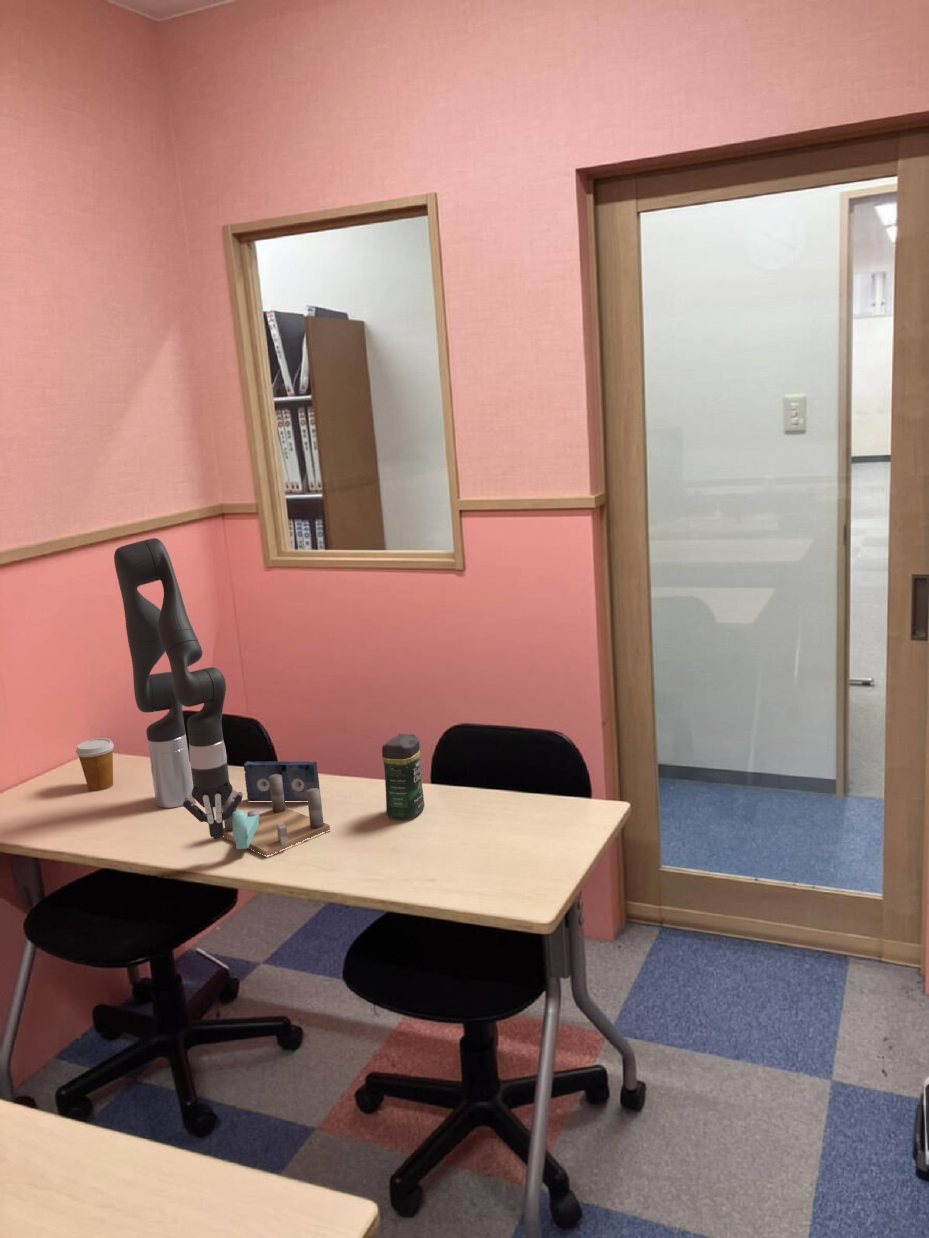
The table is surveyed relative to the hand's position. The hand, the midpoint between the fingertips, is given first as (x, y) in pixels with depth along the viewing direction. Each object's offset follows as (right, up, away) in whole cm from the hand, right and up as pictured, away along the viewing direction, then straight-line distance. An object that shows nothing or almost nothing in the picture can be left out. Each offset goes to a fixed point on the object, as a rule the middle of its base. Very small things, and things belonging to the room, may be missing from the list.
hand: (217, 837), depth 217 cm
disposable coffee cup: (-44, +2, +51) cm, 67 cm away
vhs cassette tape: (+9, +2, +32) cm, 33 cm away
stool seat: (+10, -2, +13) cm, 16 cm away
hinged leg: (+5, -1, +8) cm, 9 cm away
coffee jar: (+40, +1, +19) cm, 44 cm away
